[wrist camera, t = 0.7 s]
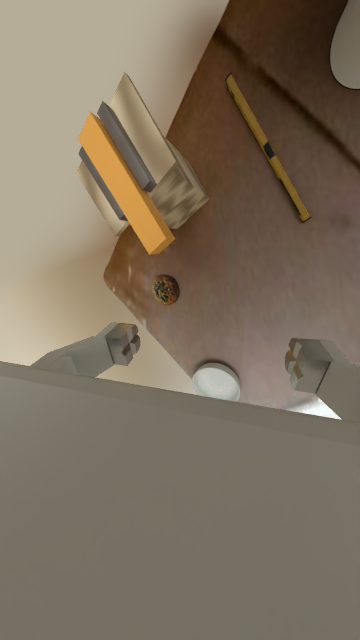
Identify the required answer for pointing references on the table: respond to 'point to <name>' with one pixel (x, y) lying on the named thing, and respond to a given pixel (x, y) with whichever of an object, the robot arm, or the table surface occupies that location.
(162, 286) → the bread roll
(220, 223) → the table surface
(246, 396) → the table surface
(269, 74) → the table surface
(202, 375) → the cereal bowl
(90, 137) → the long orange beam
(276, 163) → the spirit level
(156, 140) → the stand
